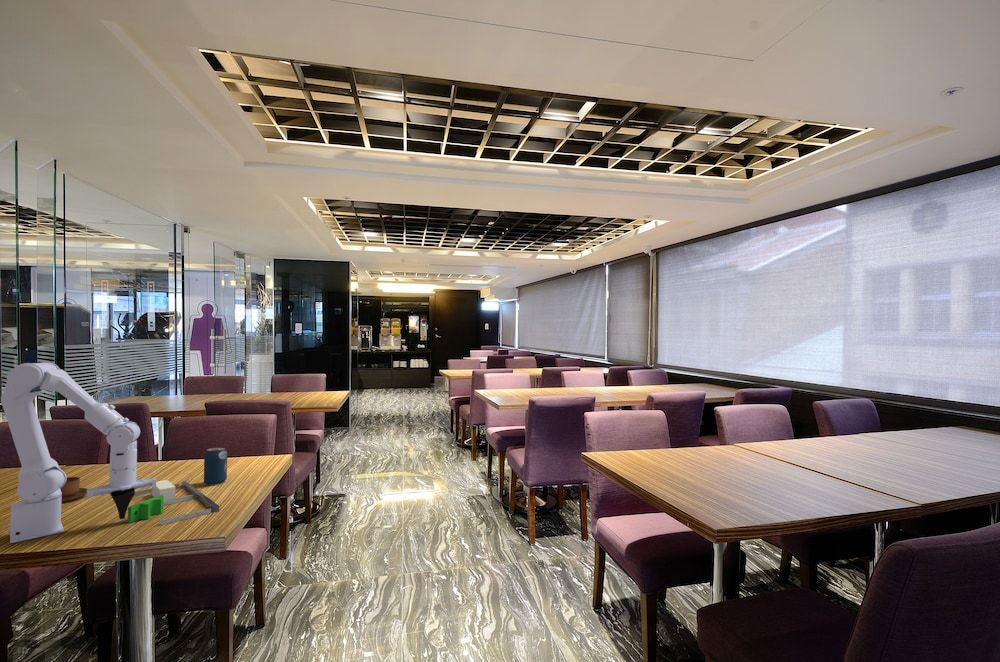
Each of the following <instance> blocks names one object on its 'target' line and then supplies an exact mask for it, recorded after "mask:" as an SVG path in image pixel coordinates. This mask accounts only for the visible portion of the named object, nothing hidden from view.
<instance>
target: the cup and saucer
mask: <svg viewBox="0 0 1000 662" xmlns="http://www.w3.org/2000/svg"><path fill="white" fill-rule="evenodd" d="M80 480H81V478H80V477H78V476H71V477H69V476H67V480H66V483H65V484H64V486H63V487H62V488H61V492H62V500H61V503H66V502H69V501H74V500H77V499H80V498H82V497H84V496H87V489H88V488H86V487H80Z"/></svg>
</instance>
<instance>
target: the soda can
mask: <svg viewBox="0 0 1000 662" xmlns="http://www.w3.org/2000/svg"><path fill="white" fill-rule="evenodd" d="M203 458H204V459H203V482H204V484H205V485H206V486H218V485H222V484H224V483H225V482H226V480H227V478H228V451H227V450H226V447H225V446H218V447H217V446H216V447H210V448H207V449H206V451H205V452H204V457H203Z"/></svg>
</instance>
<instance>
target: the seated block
mask: <svg viewBox="0 0 1000 662" xmlns="http://www.w3.org/2000/svg"><path fill="white" fill-rule="evenodd" d="M173 484H174V483H172V482H171V481H170V480H168V479H164V480H159V481H156V486H151V488H152V493H151V495H152V496H153V498H154V497H156V496H159V495H164V501H165V500H170V499H175V498H176V489H177V488H176V487H175V486H174V485H173Z"/></svg>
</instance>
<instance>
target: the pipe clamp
mask: <svg viewBox="0 0 1000 662" xmlns="http://www.w3.org/2000/svg"><path fill="white" fill-rule="evenodd" d="M163 501H164V495H159V496H156V497H154V496H153V497H152V498H149V499H146V500H143V501H141V502H138V503H135V504H133V505H131V506H128V508H127V523H129V524H130V523H131V524H132V523H134V522H136V521H139V520H151V516H154V515H161V514H164V512H163V511H164V505H163Z"/></svg>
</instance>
